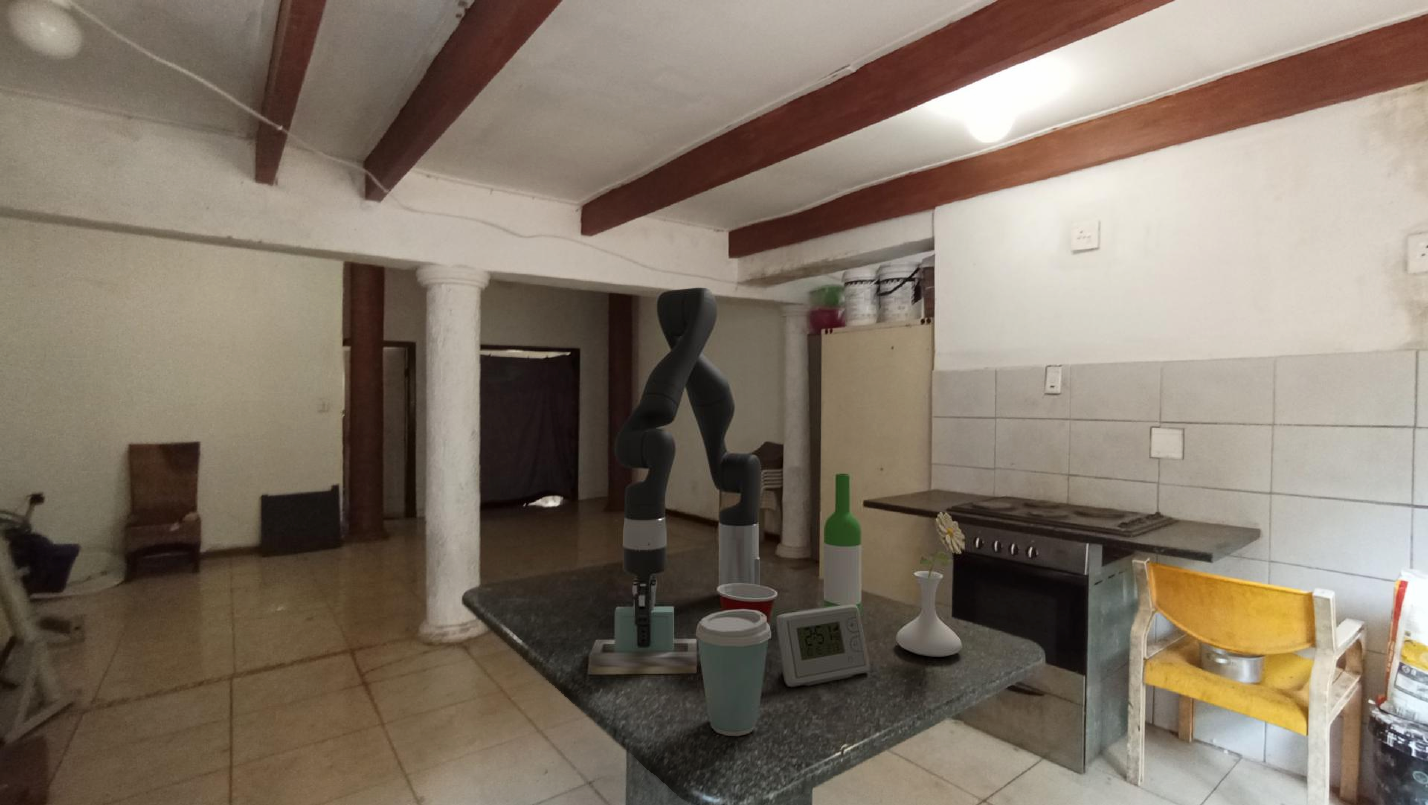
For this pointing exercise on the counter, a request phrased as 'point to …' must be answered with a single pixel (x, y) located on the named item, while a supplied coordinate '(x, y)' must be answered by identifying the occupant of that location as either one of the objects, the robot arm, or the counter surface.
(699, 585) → the counter surface
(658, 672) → the board
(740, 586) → the plastic cup
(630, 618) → the green rectangular block
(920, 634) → the flower in vase
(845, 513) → the wine bottle
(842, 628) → the digital clock
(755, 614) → the disposable coffee cup
